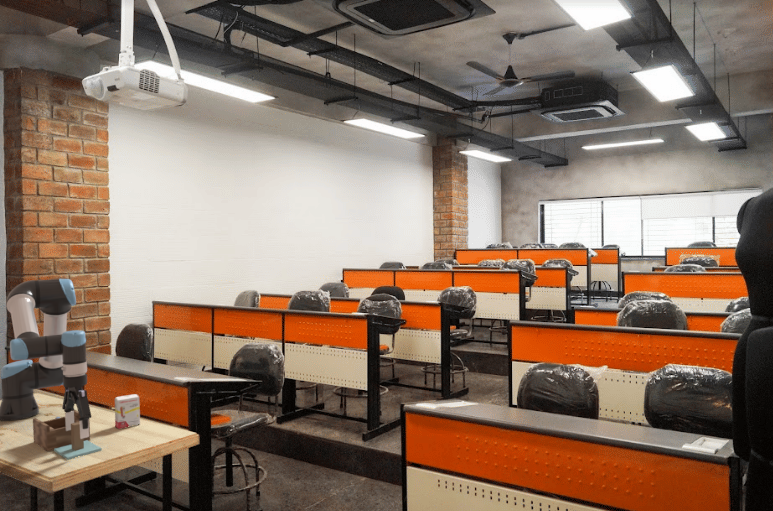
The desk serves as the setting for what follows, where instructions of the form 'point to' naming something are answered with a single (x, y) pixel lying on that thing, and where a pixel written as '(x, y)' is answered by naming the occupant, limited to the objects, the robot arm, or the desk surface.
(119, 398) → the ink box
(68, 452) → the lid
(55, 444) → the walnut box
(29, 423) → the desk surface
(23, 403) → the robot arm
